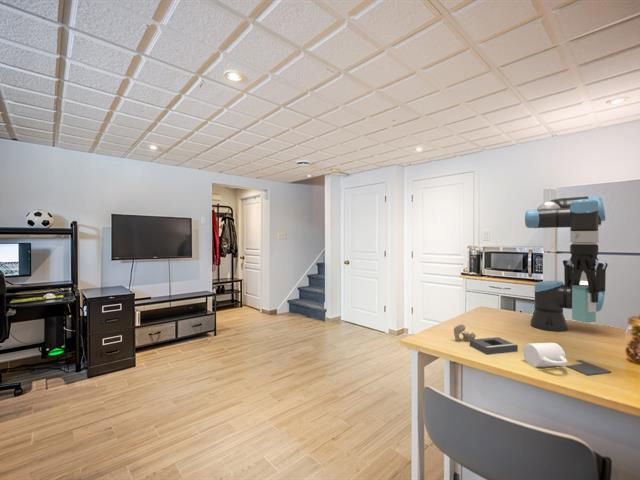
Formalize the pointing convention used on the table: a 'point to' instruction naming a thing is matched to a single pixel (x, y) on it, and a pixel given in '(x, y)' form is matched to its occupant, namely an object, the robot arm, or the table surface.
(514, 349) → the grey socket block
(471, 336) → the bone
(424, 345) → the table surface
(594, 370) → the mat
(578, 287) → the plug
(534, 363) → the mug
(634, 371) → the table surface
